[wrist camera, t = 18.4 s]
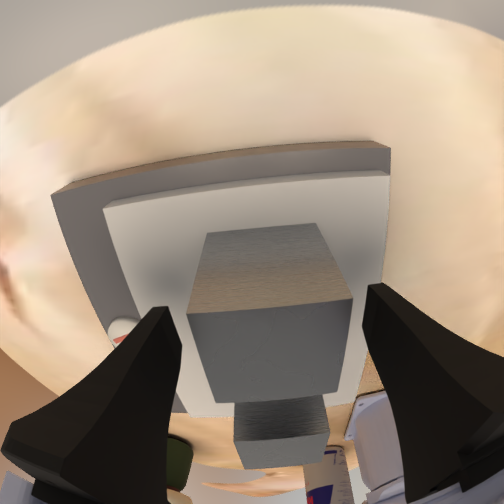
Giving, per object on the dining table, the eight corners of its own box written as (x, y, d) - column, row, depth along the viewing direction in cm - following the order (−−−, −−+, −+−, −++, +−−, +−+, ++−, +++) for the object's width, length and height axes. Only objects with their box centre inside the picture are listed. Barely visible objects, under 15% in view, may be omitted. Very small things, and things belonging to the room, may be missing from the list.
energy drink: (293, 455, 29) (301, 539, 19) (332, 441, 28) (347, 530, 17) (314, 463, 31) (324, 537, 21) (350, 450, 30) (365, 528, 19)
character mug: (205, 431, 26) (198, 546, 14) (219, 455, 29) (216, 549, 18) (113, 424, 26) (90, 522, 15) (138, 450, 29) (123, 534, 18)
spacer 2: (310, 396, 18) (321, 462, 13) (244, 403, 18) (244, 469, 13) (314, 355, 16) (330, 432, 11) (235, 363, 16) (233, 441, 11)
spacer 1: (314, 307, 14) (337, 391, 9) (223, 315, 14) (215, 403, 10) (315, 222, 12) (353, 298, 7) (207, 232, 12) (186, 313, 8)
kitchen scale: (350, 378, 22) (358, 407, 19) (158, 392, 22) (151, 421, 19) (372, 141, 13) (401, 151, 10) (69, 183, 14) (39, 202, 11)
